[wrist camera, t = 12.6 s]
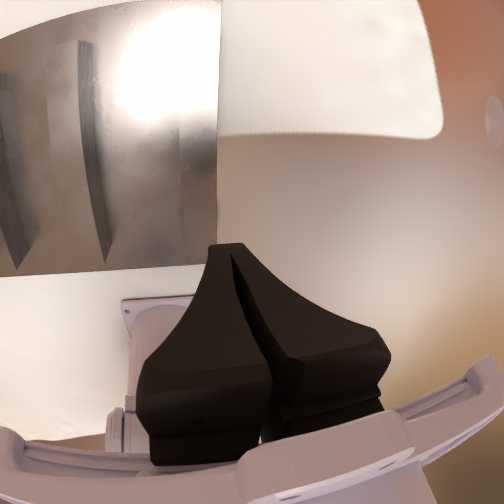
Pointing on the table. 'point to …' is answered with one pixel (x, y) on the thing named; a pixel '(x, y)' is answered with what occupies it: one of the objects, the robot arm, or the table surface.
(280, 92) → the table surface
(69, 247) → the rack
